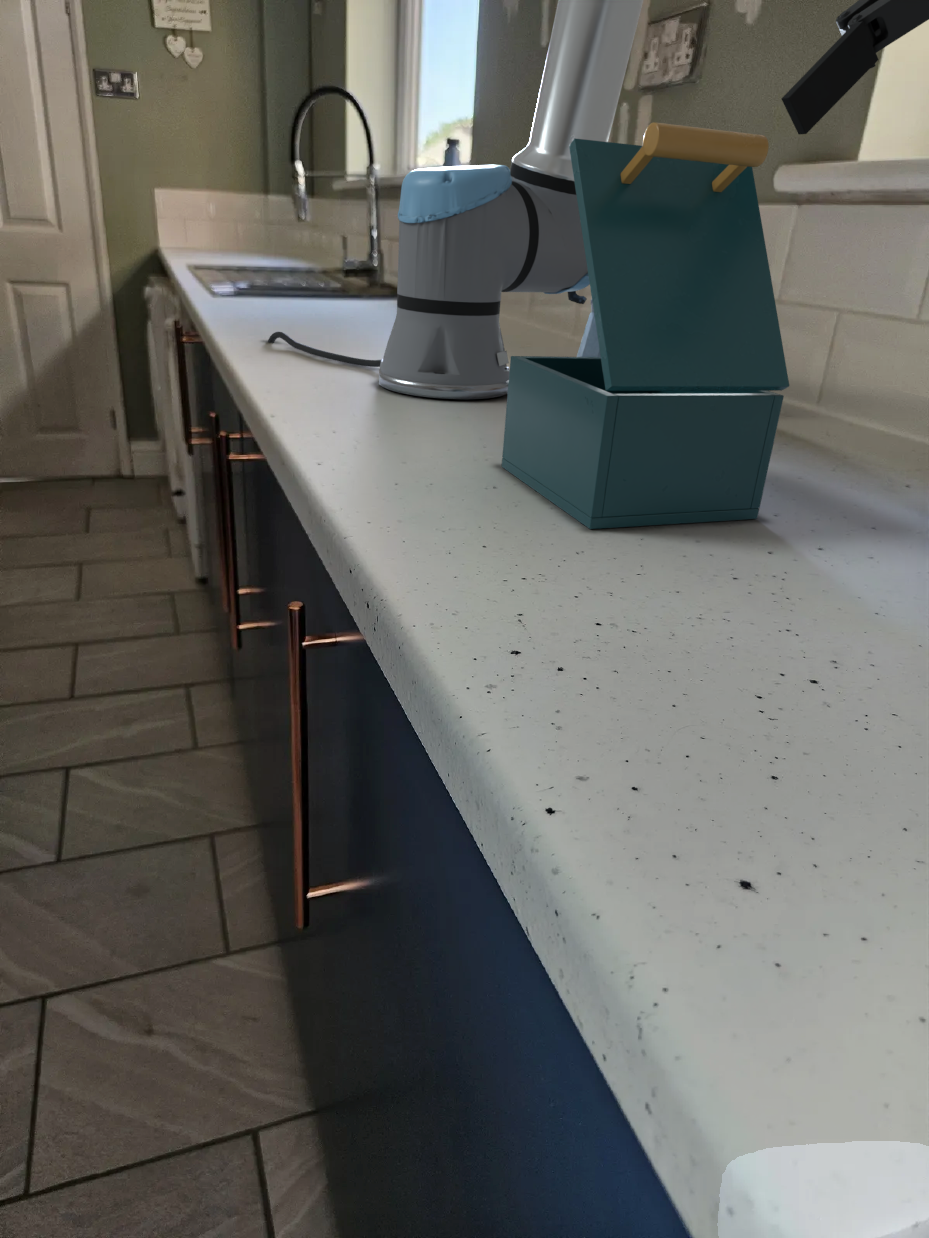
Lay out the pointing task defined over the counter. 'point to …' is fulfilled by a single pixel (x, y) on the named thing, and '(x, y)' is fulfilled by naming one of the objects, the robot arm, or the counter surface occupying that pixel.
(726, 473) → the storage box
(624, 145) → the box lid
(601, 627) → the counter surface
